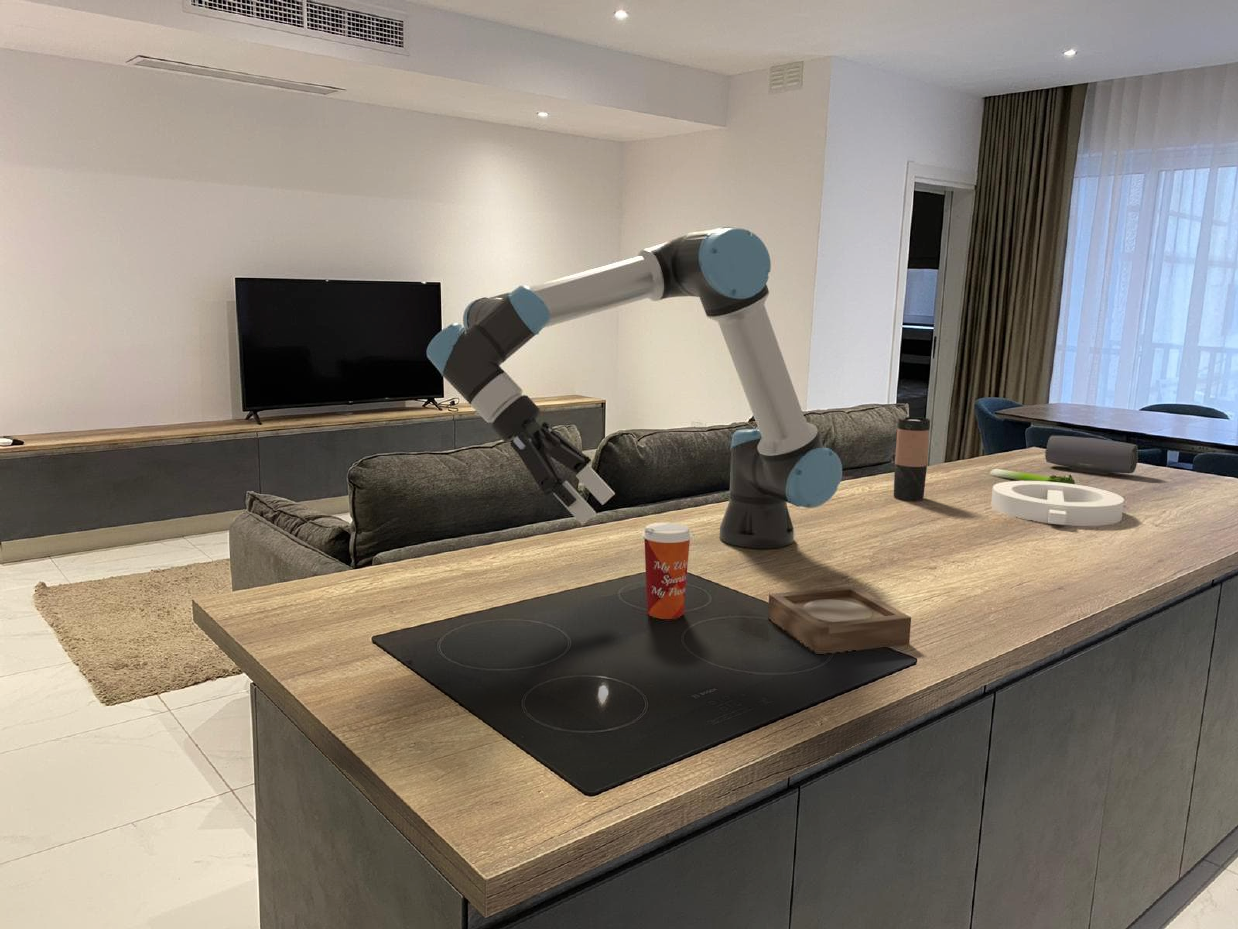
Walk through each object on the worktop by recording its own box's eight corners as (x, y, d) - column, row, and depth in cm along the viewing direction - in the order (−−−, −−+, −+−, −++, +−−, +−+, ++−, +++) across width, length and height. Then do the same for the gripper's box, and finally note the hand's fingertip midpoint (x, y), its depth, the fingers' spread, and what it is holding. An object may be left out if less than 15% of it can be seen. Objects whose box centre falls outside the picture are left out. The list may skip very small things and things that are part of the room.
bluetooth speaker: (1136, 475, 259) (1140, 441, 257) (1127, 479, 253) (1131, 444, 251) (1053, 464, 275) (1057, 432, 273) (1043, 468, 268) (1046, 435, 266)
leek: (1005, 482, 258) (1083, 496, 229) (984, 486, 256) (1060, 500, 227) (1003, 461, 257) (1082, 472, 228) (982, 465, 255) (1059, 477, 226)
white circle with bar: (1052, 496, 232) (1054, 478, 231) (1150, 522, 206) (1152, 501, 205) (965, 503, 222) (967, 484, 221) (1056, 531, 196) (1058, 510, 195)
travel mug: (926, 502, 221) (932, 421, 217) (893, 500, 223) (899, 420, 219) (922, 495, 229) (928, 417, 225) (891, 493, 230) (896, 416, 226)
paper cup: (656, 625, 136) (658, 536, 133) (632, 610, 143) (633, 524, 140) (699, 618, 140) (702, 530, 137) (674, 603, 146) (676, 519, 144)
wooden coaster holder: (767, 618, 140) (769, 594, 139) (851, 609, 144) (853, 585, 143) (818, 655, 126) (819, 628, 125) (909, 643, 130) (911, 617, 129)
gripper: (515, 415, 153) (600, 506, 153) (461, 437, 129) (561, 545, 129) (545, 385, 151) (631, 477, 151) (496, 401, 127) (598, 511, 127)
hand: (599, 508), depth 140 cm, fingers open, 13 cm apart
